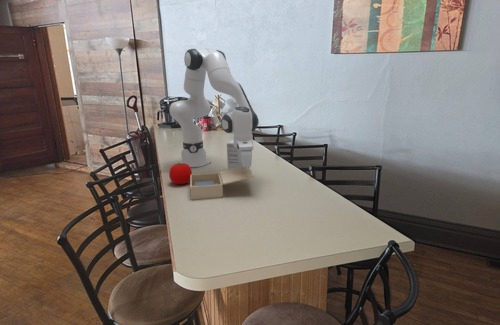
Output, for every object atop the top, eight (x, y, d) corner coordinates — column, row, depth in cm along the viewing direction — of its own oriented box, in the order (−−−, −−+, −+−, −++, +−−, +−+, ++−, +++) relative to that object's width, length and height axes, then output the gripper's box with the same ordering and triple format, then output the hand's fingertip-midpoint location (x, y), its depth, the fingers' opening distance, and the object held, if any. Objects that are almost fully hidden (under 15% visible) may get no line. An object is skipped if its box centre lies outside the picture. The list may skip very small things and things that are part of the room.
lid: (247, 164, 161) (247, 165, 161) (219, 171, 159) (220, 172, 160) (254, 175, 144) (254, 176, 144) (223, 183, 142) (223, 184, 143)
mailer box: (191, 186, 159) (190, 174, 157) (219, 183, 161) (218, 172, 159) (191, 199, 142) (190, 187, 140) (222, 197, 144) (222, 184, 142)
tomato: (170, 188, 157) (168, 167, 154) (169, 180, 168) (167, 161, 165) (193, 185, 159) (192, 165, 157) (191, 178, 171) (189, 159, 168)
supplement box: (243, 173, 177) (242, 143, 172) (227, 172, 178) (226, 143, 174) (247, 168, 186) (246, 140, 181) (231, 167, 187) (230, 139, 183)
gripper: (233, 138, 157) (234, 165, 161) (239, 147, 138) (240, 178, 142) (246, 138, 158) (247, 164, 162) (253, 147, 139) (254, 177, 143)
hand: (244, 171), depth 152 cm, fingers closed, pressing on lid
